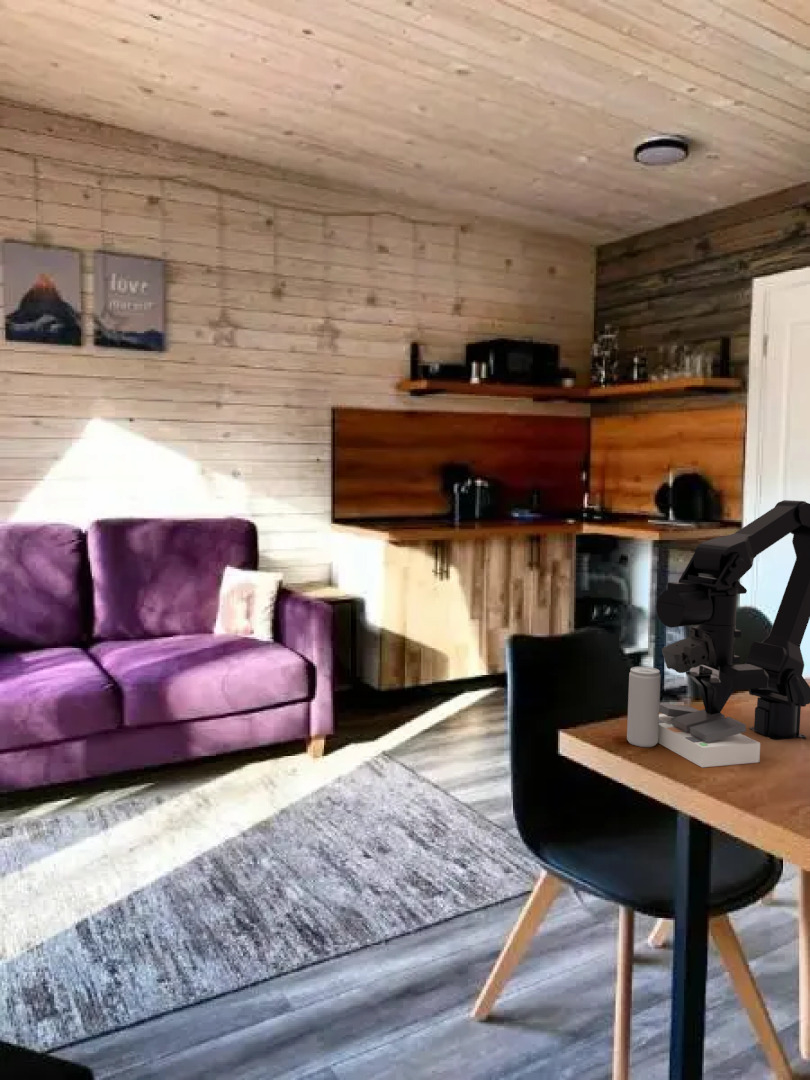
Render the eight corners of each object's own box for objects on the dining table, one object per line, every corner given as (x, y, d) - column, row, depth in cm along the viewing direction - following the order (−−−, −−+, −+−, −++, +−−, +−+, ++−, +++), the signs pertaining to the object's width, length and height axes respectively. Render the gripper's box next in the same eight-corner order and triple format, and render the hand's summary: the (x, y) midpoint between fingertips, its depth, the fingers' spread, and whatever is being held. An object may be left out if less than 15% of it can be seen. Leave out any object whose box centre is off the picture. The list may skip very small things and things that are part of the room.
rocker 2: (709, 715, 139) (709, 707, 138) (725, 722, 135) (724, 714, 135) (672, 725, 137) (671, 718, 137) (686, 732, 133) (685, 725, 133)
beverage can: (659, 749, 134) (662, 674, 133) (627, 747, 135) (630, 672, 134) (656, 740, 139) (659, 667, 138) (625, 737, 140) (628, 665, 139)
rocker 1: (690, 713, 143) (691, 706, 143) (704, 720, 140) (706, 713, 140) (654, 709, 141) (655, 702, 141) (667, 716, 138) (669, 708, 138)
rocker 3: (729, 723, 134) (728, 716, 134) (746, 731, 130) (745, 724, 130) (690, 734, 132) (689, 727, 132) (706, 742, 128) (705, 735, 128)
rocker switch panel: (692, 728, 146) (693, 710, 145) (759, 762, 129) (760, 741, 129) (640, 732, 143) (641, 714, 143) (701, 767, 127) (702, 746, 126)
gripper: (639, 614, 142) (636, 706, 143) (708, 635, 124) (703, 741, 125) (697, 612, 145) (694, 702, 146) (773, 632, 127) (768, 735, 128)
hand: (711, 719), depth 136 cm, fingers closed, pressing on rocker 2
